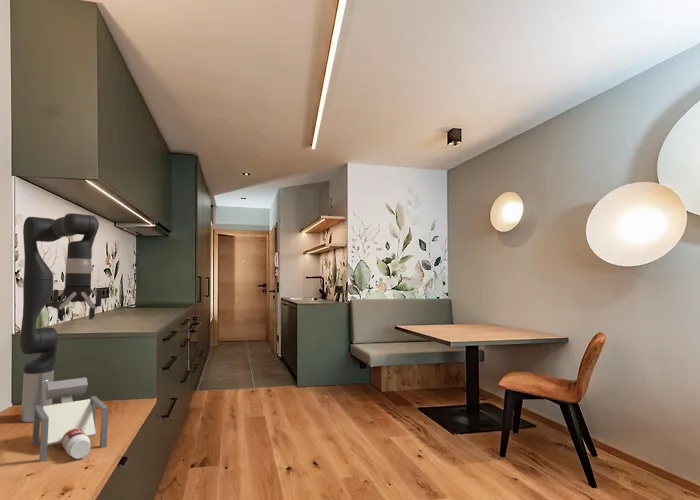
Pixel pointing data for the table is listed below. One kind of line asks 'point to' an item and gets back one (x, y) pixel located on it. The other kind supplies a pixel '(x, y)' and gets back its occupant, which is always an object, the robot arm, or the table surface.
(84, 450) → the pill bottle
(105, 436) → the stand
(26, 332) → the robot arm
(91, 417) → the trapdoor
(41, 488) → the table surface
